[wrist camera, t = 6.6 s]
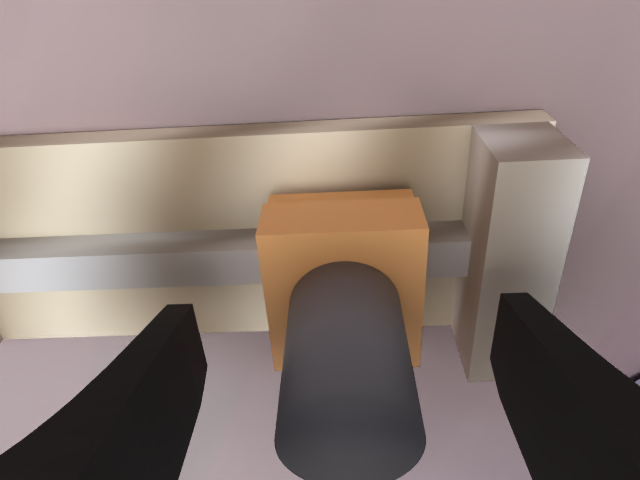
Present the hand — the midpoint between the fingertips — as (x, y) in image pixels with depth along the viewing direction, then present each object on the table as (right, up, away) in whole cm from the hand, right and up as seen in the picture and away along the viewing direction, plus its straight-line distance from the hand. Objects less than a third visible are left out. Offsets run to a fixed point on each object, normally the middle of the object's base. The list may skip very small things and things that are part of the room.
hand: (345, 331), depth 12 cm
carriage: (0, +2, +3) cm, 4 cm away
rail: (-4, +2, +4) cm, 7 cm away
